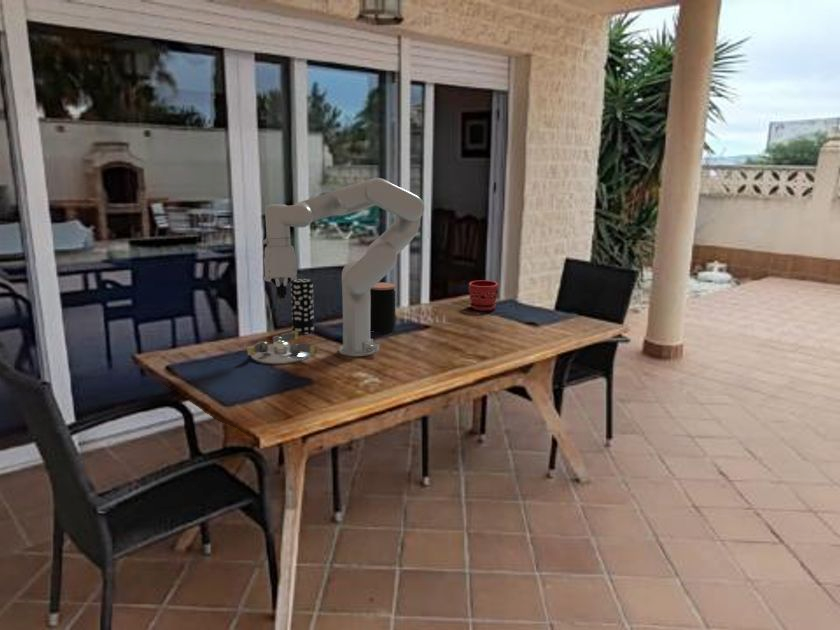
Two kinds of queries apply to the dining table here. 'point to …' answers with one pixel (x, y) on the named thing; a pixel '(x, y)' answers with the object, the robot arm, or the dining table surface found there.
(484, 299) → the plant pot
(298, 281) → the spotted tube
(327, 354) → the dining table surface
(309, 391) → the dining table surface
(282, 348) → the tribrach plate
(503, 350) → the dining table surface
